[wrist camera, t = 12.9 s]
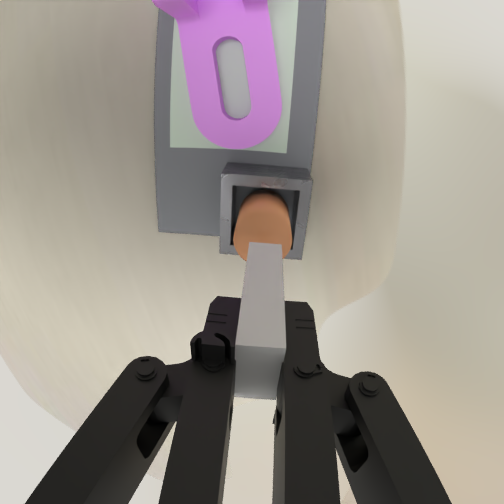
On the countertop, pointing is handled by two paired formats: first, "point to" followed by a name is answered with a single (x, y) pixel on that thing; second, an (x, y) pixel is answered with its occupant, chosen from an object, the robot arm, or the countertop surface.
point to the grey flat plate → (237, 106)
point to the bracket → (206, 68)
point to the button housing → (266, 179)
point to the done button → (263, 222)
